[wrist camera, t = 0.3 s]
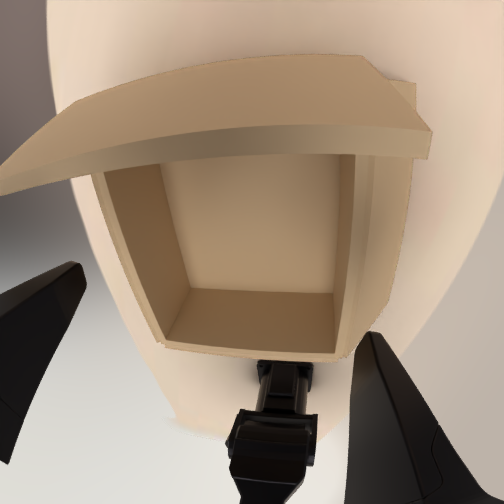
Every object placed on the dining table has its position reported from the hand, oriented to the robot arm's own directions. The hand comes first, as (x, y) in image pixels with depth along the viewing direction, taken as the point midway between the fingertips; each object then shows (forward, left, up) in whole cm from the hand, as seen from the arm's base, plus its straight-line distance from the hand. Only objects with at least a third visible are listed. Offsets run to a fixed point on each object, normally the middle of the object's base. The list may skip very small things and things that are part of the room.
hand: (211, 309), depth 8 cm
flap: (+6, +2, -3) cm, 7 cm away
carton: (-5, +2, -14) cm, 15 cm away
